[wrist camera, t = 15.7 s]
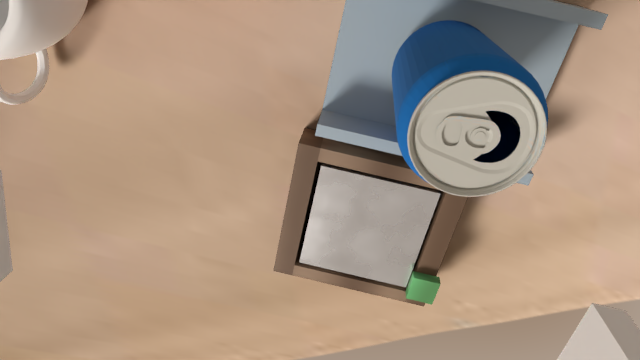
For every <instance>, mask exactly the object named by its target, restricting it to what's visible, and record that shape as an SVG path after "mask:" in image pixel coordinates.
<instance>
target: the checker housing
mask: <svg viewBox="0 0 640 360" xmlns="http://www.w3.org/2000/svg"><path fill="white" fill-rule="evenodd" d="M315 133H316V130H312V129H308V128H305V129H304V131H303V134H302V136H301V139H300V141H299V144H298V149H297V154H296V159H295V165H294V170H293V175H292V180H291V185H290V190H289V195H288V200H287V205H286V210H285V215H284V220H283V225H282V230H281V235H280V240H279V245H278V250H277V255H276V261H275V266H274V271H276V272H281V273H285V274H289V275H293V276H298V277H302V278H306V279H310V280H314V281H319V282H323V283H327V284H331V285H336V286H340V287H344V288H348V289H353V290H357V291H361V292H365V293H369V294H374V295H378V296H382V297H386V298H391V299H395V300H399V301H403V302H408V303H412V304H416V305H420V306H424V305H425V303H428V304H432V303H433V301H434V298H435V296H436V294H437V291H438V289H439V286H440V279H439V277H436V275H437V272H438V270H439V268H440V265H441V263H442V260H443V258H444V255H445V253H446V250H447V248H448V245H449V243H450V240H451V238H452V235H453V233H454V230H455V228H456V225H457V223H458V220H459V218H460V215H461V213H462V210H463V208H464V206H465V203H466V201H467V198H468V197H464V196H457V195H452V194H449V193H446V192H443V191H441V190H440V193H441V194H440V197H439V200H438V202H437V205H436V208H435V210H434V213H433V216H432V218H431V221H430V224H429V227H428V229H427V232H426V235H425V237H424V240H423V243H422V245H421V248H420V251H419V254H418V256H417V259H416V262H415V264H414V267H413V270H412V272H411V275H410V278H409V280H408V283H407V286H406V287H402V286H398V285H393V284H389V283H385V282H381V281H376V280H372V279H368V278H364V277H359V276H355V275H351V274H347V273H342V272H338V271H334V270H330V269H326V268H321V267H317V266H313V265H309V264H304V263H300V262H299V261H300V256H301V252H302V247H303V244H301V243H300V242H301V238H302V233H303V229H304V224H305V220H306V215H307V211H308V206H309V202H310V197H311V193H312V189H313V184H314V180H315V175H316V171H317V166H318V162H322V163H326V164H331V165H335V166H339V167H344V168H348V169H352V170H356V171H361V172H365V173H369V174H373V175H378V176H382V177H386V178H391V179H395V180H399V181H403V182H408V183H412V184H416V185H420V186H425V187H429V188H433V189H437V188H435V187H434V186H432V185H430V184H429V183H427V182H426V181H424V180H423V179H421V178H420V177H419V176H418V175H416V174H415V172H414V171H413V170H412V169H411V168H410V167H409V166H408V164H407V163H406V161H405V160H404V158H403V156H400V155H396V154H392V153H387V152H383V151H379V150H375V149H370V148H366V147H362V146H357V145H353V144H349V143H345V142H340V141H336V140H332V139H328V138H323V137H319V136H315ZM437 190H439V189H437Z"/></svg>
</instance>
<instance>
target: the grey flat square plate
mask: <svg viewBox="0 0 640 360" xmlns="http://www.w3.org/2000/svg"><path fill="white" fill-rule="evenodd" d="M440 194H441V193H440V190H437V189H433V188H429V187H425V186H420V185H416V184H412V183H408V182H403V181H399V180H395V179H391V178H386V177H382V176H378V175H373V174H369V173H365V172H361V171H356V170H352V169H348V168H344V167H339V166H335V165H331V164H326V163H322V164H321V168H320V173H319V177H318V182H317V186H316V190H315V195H314V199H313V204H312V208H311V212H310V217H309V221H308V226H307V230H306V234H305V239H304V243H303V247H302V252H301V256H300V261H299V262H300V263H304V264H309V265H313V266H317V267H321V268H326V269H330V270H334V271H338V272H342V273H347V274H351V275H355V276H359V277H364V278H368V279H372V280H376V281H381V282H385V283H389V284H393V285H398V286H402V287H406V286H407V283H408V280H409V278H410V275H411V272H412V270H413V267H414V264H415V262H416V259H417V256H418V254H419V251H420V248H421V245H422V243H423V240H424V237H425V235H426V232H427V229H428V227H429V224H430V221H431V218H432V216H433V213H434V210H435V208H436V205H437V202H438V200H439V197H440Z"/></svg>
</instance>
